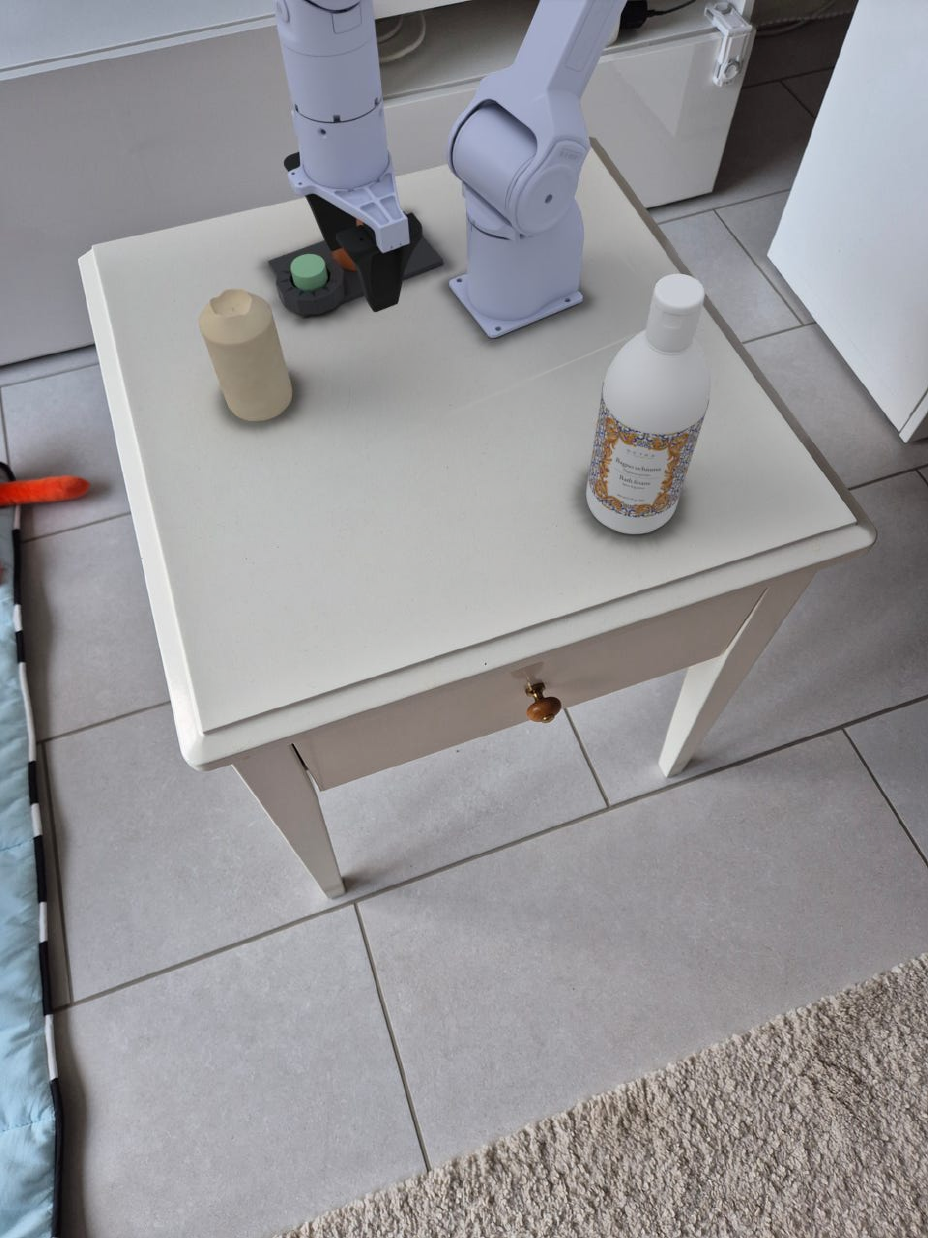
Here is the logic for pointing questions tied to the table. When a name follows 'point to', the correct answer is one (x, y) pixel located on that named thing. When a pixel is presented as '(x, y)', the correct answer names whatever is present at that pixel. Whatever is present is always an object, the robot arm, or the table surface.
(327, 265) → the scale
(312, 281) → the button
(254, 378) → the candle
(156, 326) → the table surface
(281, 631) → the table surface
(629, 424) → the bath foam
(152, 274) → the table surface
